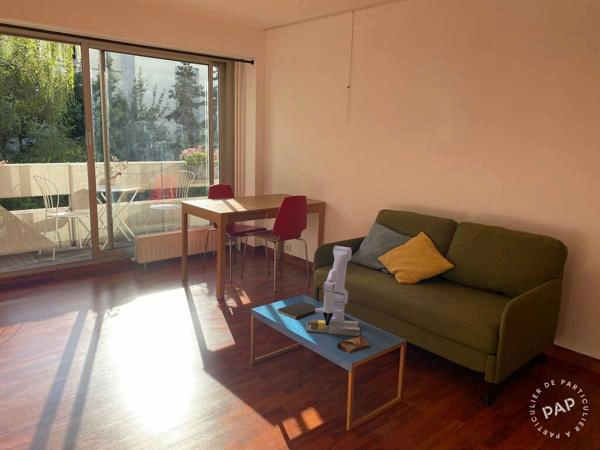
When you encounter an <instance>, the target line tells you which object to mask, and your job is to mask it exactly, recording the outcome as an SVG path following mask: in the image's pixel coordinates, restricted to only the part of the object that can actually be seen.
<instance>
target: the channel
mask: <svg viewBox="0 0 600 450" xmlns="http://www.w3.org/2000/svg"><path fill="white" fill-rule="evenodd" d="M327 334H328V335H339V336H341V335H342V336H353V337H359V336H360V334H361V330H360V327H359V321H354V320H334V319H331V320H330V322H329V326H328V333H327Z"/></svg>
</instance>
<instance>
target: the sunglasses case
mask: <svg viewBox="0 0 600 450" xmlns="http://www.w3.org/2000/svg"><path fill="white" fill-rule="evenodd" d="M336 347H337V349H338V350H339V351H343V352H344V353H346V354H351V353H354V352H357V351H358V350H361V349H365V348H369V347H372V345H371V344H370V343H368V341H367V340H366V338H364V336H363V335H359V336H355V337H352V338H349V339H347V340H342V341H340V342H338V343H337V346H336Z"/></svg>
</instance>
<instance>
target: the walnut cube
mask: <svg viewBox="0 0 600 450" xmlns="http://www.w3.org/2000/svg"><path fill="white" fill-rule="evenodd" d="M318 320H319V319H310V322H311V329H318Z"/></svg>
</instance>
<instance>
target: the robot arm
mask: <svg viewBox="0 0 600 450" xmlns="http://www.w3.org/2000/svg"><path fill="white" fill-rule="evenodd" d="M332 250H333V251H332V255H333V257H334V262H333V264H332V265H333V266H332V269H330V270H329V272H328V276H327V277H326V281H324V283H323V285H322V286H323V288H322V289H323V295H324V296H323V307H320V308H315V313H316V314H317V313H323V317H324V320H325V323H326V326H329V322H330V320H344V321H346V320H345V314H344V313H345V305H346V304H347V303H348V300H349V292H348V290H347V289H346V288H345V284H346V275H347V274H346V273H347V266H348V262H350V261H351V260H352V253H353V252H352V248H351V247H346V246H339V245H335V246H334V247H333V249H332ZM315 313H314V314H315Z"/></svg>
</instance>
